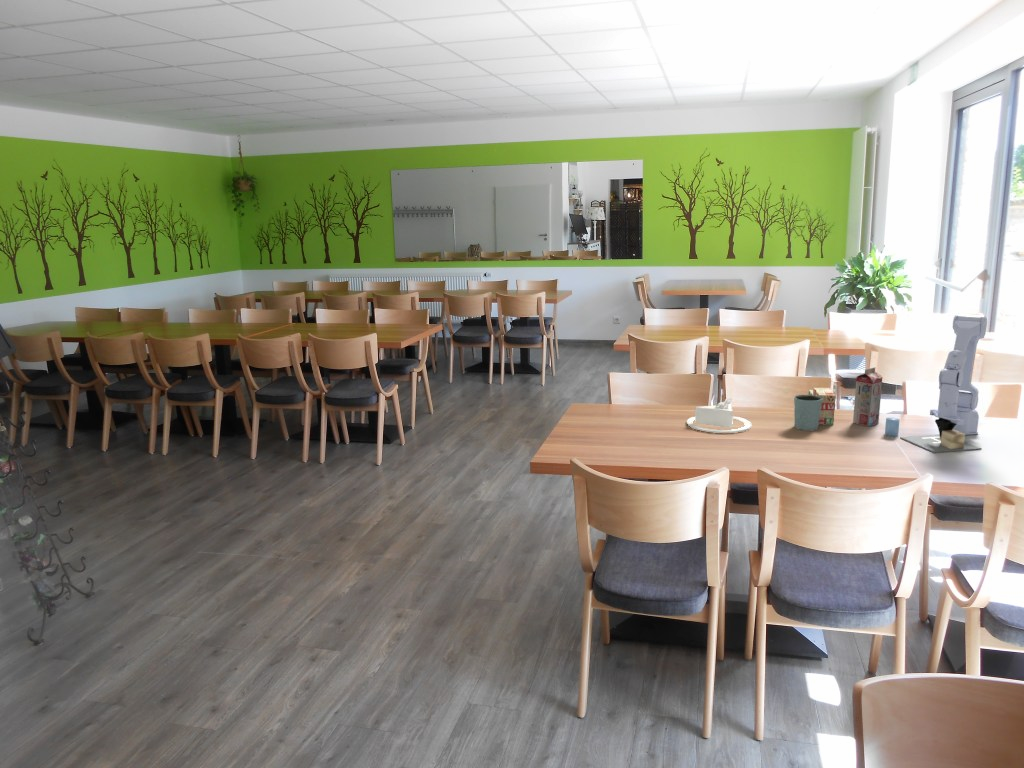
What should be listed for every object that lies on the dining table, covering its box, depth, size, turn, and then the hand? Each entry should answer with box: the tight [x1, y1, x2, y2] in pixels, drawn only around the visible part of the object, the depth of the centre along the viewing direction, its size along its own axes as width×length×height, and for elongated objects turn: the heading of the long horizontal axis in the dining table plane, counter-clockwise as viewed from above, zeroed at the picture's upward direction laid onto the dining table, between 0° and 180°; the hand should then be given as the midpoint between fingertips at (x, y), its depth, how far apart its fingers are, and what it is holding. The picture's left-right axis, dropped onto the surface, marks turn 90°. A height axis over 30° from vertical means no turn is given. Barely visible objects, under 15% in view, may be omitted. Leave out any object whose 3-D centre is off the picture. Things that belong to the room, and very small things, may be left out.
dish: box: [686, 397, 753, 434], centre depth 299 cm, size 25×25×11 cm
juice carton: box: [852, 367, 883, 427], centre depth 295 cm, size 7×7×22 cm
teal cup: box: [793, 394, 822, 431], centre depth 293 cm, size 10×10×12 cm
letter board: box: [900, 433, 982, 454], centre depth 270 cm, size 18×18×1 cm
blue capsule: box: [884, 417, 900, 437], centre depth 282 cm, size 4×4×6 cm
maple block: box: [941, 430, 966, 449], centre depth 265 cm, size 5×5×5 cm
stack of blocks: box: [807, 387, 837, 426], centre depth 306 cm, size 21×6×12 cm, turn 169°
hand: (944, 439), depth 269 cm, fingers closed
